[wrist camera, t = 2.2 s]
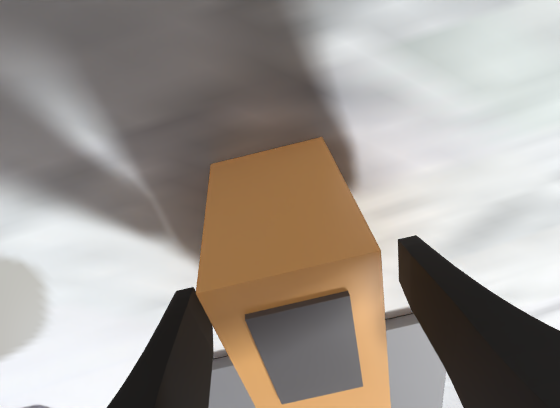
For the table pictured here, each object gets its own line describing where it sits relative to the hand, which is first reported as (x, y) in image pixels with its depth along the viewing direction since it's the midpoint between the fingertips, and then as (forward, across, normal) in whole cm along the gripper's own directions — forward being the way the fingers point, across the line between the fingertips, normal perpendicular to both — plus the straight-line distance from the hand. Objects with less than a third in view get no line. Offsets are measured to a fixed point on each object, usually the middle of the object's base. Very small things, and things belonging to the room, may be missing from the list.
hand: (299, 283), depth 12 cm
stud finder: (+3, 0, 0) cm, 3 cm away
